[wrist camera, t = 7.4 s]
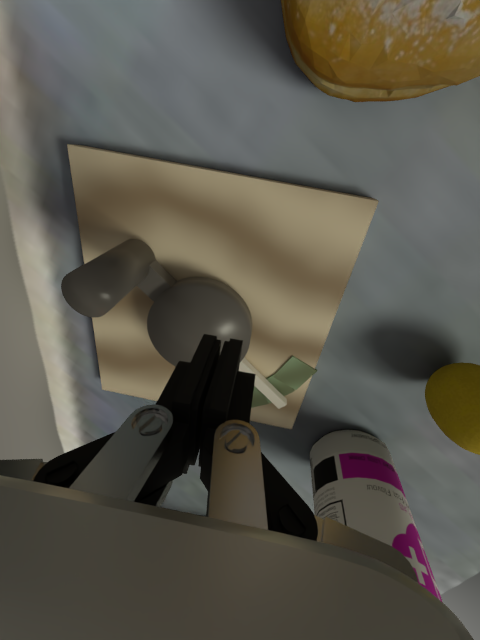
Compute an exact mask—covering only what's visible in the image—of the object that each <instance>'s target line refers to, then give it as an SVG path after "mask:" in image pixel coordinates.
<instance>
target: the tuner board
mask: <svg viewBox="0 0 480 640" xmlns="http://www.w3.org/2000/svg"><path fill="white" fill-rule="evenodd" d="M67 147H68V154H69V161H70V168H71V175H72V182H73V189H74V196H75V203H76V209H77V216H78V223H79V230H80V237H81V244H82V251H83V258H84V264H86V263H87V262H89V261H91V260H93V259H94V258H96V257H98V256H100V255H102V254H103V253H105V252H107V251H109V250H110V249H112V248H114V247H116V246H117V245H119V244H121V243H123V242H124V241H126V240H129V239H138V240H141V241H143V242H145V243H146V244H147V245H148V246H149V247H150V248H151V249H152V251H153V252H154V255H155V259H156V260H157V261H158V262H159V263H160V264H161V265H162V266H163V267H164V268H165V269H166V270H167V271H168V272H169V273H170V274H171V275H172V276H173V277H174V278H175V279H176V280H177V281H178V280H180V279H183V278H187V277H196V276H197V277H207V278H212V279H215V280H218V281H220V282H223V283H225V284H226V285H228V286H230V287H231V288H232V289H234V290H235V291H236V292H237V293H238V294H239V295H240V296H241V297H242V298H243V300H244V301H245V302H246V304H247V306H248V308H249V310H250V313H251V316H252V333H251V339H250V345H249V349H248V352H247V354H246V355H245V357H244V358H245V359H246V360H247V361H248V362H249V363H250V364H251V365H252V366H254V367H255V368H256V369H257V370H258V371H259V372H260V373H261V374H262V375H263V376H264V377H265V378H266V379H267V380H268V381H269V382H270V383H271V384H272V385H273V386H274V387H275V388H276V389H277V390H278V391H279V392H280V393H281V394H282V395H283V396H284V397H285V398H286V399H287V405H286V406H284V407H282V408H280V409H278V408H277V407H276V406H275V405H274V404H273V403H272V402H271V401H270V400H269V399H268V398H267V397H266V396H265V395H264V394H263V393H262V392H260V391H259V390H258V389H257V388H256V387H255V386H254V391H253V399H252V407H251V415H250V421H254V422H259V423H263V424H268V425H273V426H278V427H282V428H287V429H292V427H293V424H294V422H295V419H296V417H297V414H298V411H299V409H300V406H301V403H302V401H303V398H304V396H305V393H306V390H307V388H308V385H309V382H310V380H311V377H312V375H313V374H314V373H316V372H317V370H316V369H315V367H316V364H317V361H318V359H319V356H320V354H321V351H322V348H323V346H324V343H325V340H326V338H327V335H328V333H329V330H330V327H331V325H332V322H333V319H334V317H335V314H336V312H337V309H338V306H339V304H340V301H341V298H342V296H343V293H344V291H345V288H346V285H347V283H348V280H349V278H350V275H351V272H352V270H353V267H354V264H355V262H356V259H357V257H358V254H359V251H360V249H361V246H362V243H363V241H364V238H365V236H366V233H367V230H368V228H369V225H370V222H371V220H372V217H373V215H374V212H375V209H376V207H377V204H378V200H376V199H374V198H369V197H363V196H358V195H352V194H347V193H341V192H336V191H330V190H325V189H319V188H314V187H308V186H303V185H297V184H292V183H286V182H281V181H275V180H270V179H264V178H259V177H253V176H248V175H242V174H237V173H231V172H226V171H220V170H215V169H209V168H204V167H198V166H193V165H187V164H182V163H176V162H171V161H165V160H160V159H154V158H149V157H143V156H138V155H132V154H127V153H121V152H116V151H110V150H105V149H99V148H94V147H88V146H83V145H70V144H67ZM153 303H154V301H152V300H151V299H150V298H149V297H148V296H147V295H146V294H145V293H144V292H143V291H142V290H141V289H140V288H139V287H138V286H136V287H135V288H134V289H132V290H131V291H130V292H129V293H128V294H127V295H126V296H125V297H124V298H123V299H122V300H120V301H119V302H118V303H117V304H116V305H115V306H114V307H113V308H112V309H111V310H110V311H109V312H107V313H106V314H105V315H103V316H101V317H92V321H93V328H94V335H95V342H96V349H97V356H98V363H99V370H100V377H101V384H102V390H107V391H112V392H117V393H121V394H126V395H131V396H136V397H140V398H145V399H150V400H154V401H158V399H159V397H160V395H161V393H162V392H163V390H164V388H165V386H166V384H167V382H168V380H169V378H170V377H171V375H172V373H173V371H174V369H175V366H174V365H172V364H170V363H169V362H168V361H167V360H165V359H164V358H163V357H162V356H161V355H160V354H159V353H158V351H157V350H156V349H155V347H154V346H153V344H152V342H151V340H150V337H149V334H148V330H147V317H148V313H149V310H150V308H151V306H152V305H153Z"/></svg>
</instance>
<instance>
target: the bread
mask: <svg viewBox="0 0 480 640" xmlns="http://www.w3.org/2000/svg"><path fill="white" fill-rule="evenodd" d="M281 5H282V12H283V20H284V27H285V34H286V39H287V42H288V45H289V48H290V51H291V54H292V57H293V59H294V61H295V63H296V65H297V66H298V67H299V68H300V69H301V70H302V72H303V73H304V74H305V75H306V76H307V77H308V79H309V80H310V81H311V82H312V83H313V84H314V85H315V86H316V87H317V88H318V89H320V90H321V91H323V92H324V93H326V94H327V95H329V96H333V97H337V98H341V99H347V100H350V101H353V102H366V101H395V100H403V99H409V98H415V97H419V96H422V95H425V94H428V93H430V92H433V91H436V90H439V89H442V88H445V87H448V86H451V85H458V84H461V83H463V82H466V81H468V80H471V79H473V78H476V77H478V76H480V0H281Z"/></svg>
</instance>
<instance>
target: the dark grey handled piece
mask: <svg viewBox="0 0 480 640" xmlns="http://www.w3.org/2000/svg"><path fill="white" fill-rule="evenodd" d="M136 286H138V287H139V288H140V289H141V290H142V291H143V292H144V293H145V294H146V295H147V296H148V297H149V298H150V299H151V300H152V301H154V303H153V305H152V306H151V308H150V310H149V313H148V317H147V330H148V334H149V337H150V340H151V342H152V344H153V346H154V347H155V349H156V350H157V351H158V353H159V354H160V355H161V356H162V357H163V358H164V359H165V360H167V361H168V362H169V363H170V364H172V365H174V366H175V367H176V365H177V364H178V362H179V361H185V362H191V360H192V358H193V356H194V354H195V352H196V349H197V347H198V345H199V343H200V341H201V339H202V337H203V335H204V334H208V335H214V336H217V340H221V349H220V354H221V351H222V348H223V345H224V342H225V341H230V338H231V339H237V340H243V345H242V352H241V358H240V365H239V371H241V372H247V373H253V374H256V375H255V383H254V386H255V387H256V388H257V389H258V390H259V391H260V392H262V393H263V394H264V395H265V396H266V397H267V398H268V399H269V400H270V401H271V402H272V403H273V404H274V405H275V406H276V407H277V408H278V409H280V408H282V407H284V406H286V405H287V399H286V398H285V397H284V396H283V395H282V394H281V393H280V392H279V391H278V390H277V389H276V388H275V387H274V386H273V385H272V384H271V383H270V382H269V381H268V380H267V379H266V378H265V377H264V376H263V375H262V374H261V373H260V372H259V371H258V370H257V369H256V368H255V367H254V366H252V365H251V364H250V363H249V362H248V361H247V360H246V359H245V358H244V357H245V355H246V354H247V352H248V349H249V345H250V339H251V333H252V316H251V313H250V310H249V308H248V306H247V304H246V302H245V301H244V300H243V298H242V297H241V296H240V295H239V294H238V293H237V292H236V291H235V290H234V289H232V288H231V287H230V286H228V285H226V284H225V283H223V282H220V281H218V280H215V279H212V278H207V277H197V276H196V277H187V278H183V279H180V280H178V281H177V280H176V279H175V278H174V277H173V276H172V275H171V274H170V273H169V272H168V271H167V270H166V269H165V268H164V267H163V266H162V265H161V264H160V263H159V262H158V261H157V260H156V259H155V255H154V252H153V251H152V249H151V248H150V247H149V246H148V245H147V244H146V243H145V242H143V241H141V240H138V239H129V240H126V241H124V242H123V243H121V244H119V245H117V246H116V247H114V248H112V249H110V250H109V251H107V252H105V253H103V254H102V255H100V256H98V257H96V258H94V259H93V260H91V261H89V262H87V263H86V264H84V265H82V266H80V267H79V268H77V269H75V270H73V271H72V272H70V273H68V274H67V275H66V276H65V277H64V278H63V280H62V284H61V289H62V293H63V296H64V298H65V300H66V301H67V303H68V304H69V305H70V306H71V307H72V308H73V309H74V310H75V311H77V312H78V313H80V314H82V315H85V316H88V317H101V316H103V315H105V314H106V313H107V312H109V311H110V310H111V309H112V308H113V307H114V306H115V305H116V304H117V303H118V302H119V301H120V300H122V299H123V298H124V297H125V296H126V295H127V294H128V293H129V292H130V291H131V290H132V289H134V288H135V287H136Z"/></svg>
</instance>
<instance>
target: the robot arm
mask: <svg viewBox="0 0 480 640" xmlns="http://www.w3.org/2000/svg"><path fill="white" fill-rule="evenodd" d="M242 345H243V340H237V339H231V338H230V341H225V342H224V345H223V348H222V351H221V354H220V349H221V340H217V336H214V335H208V334H204V335H203V337H202V339H201V341H200V343H199V345H198V347H197V349H196V352H195V354H194V356H193V358H192V360H191V362H185V361H179V362H178V364H177V365H176V367H175V369H174V371H173V373H172V375H171V377H170V378H169V380H168V382H167V384H166V386H165V388H164V390H163V392H162V393H161V395H160V397H159V399H158V401H157V403H156V405H146V406H142V407H140V408H138V409H136V410H135V411H134V412H133V413H132V414H130V416H129V417H128V418H127V419H126V420H125V422H124V423H123V424H122V425H121V426H120V428H119V429H118V430H117V431H116V432H114V433H112V434H109V435H107V436H105V437H102V438H100V439H97V440H95V441H93V442H90V443H88V444H86V445H83V446H81V447H79V448H76V449H74V450H72V451H69V452H67V453H64V454H62V455H60V456H58V457H56V458H54V459H52V460H50V461H49V462H43V460H42V459H23V460H22V459H20V460H0V640H474V639H473V638H472V636H471V635H470V633H469V632H468V631H467V629H466V628H465V626H464V625H463V624H462V622H461V621H460V620H459V619H458V618H457V616H456V615H455V614H454V613H453V612H452V611H451V610H450V609H449V608H448V607H447V606H446V605H445V604H444V603H443V602H441V601H440V600H439V599H438V598H437V597H435V596H434V595H433V594H432V593H431V592H429V591H428V590H427V589H426V588H424V587H423V586H421V585H420V584H419V583H418V579H417V576H416V573H415V571H414V569H413V567H412V566H411V564H410V562H409V561H408V560H407V559H406V558H405V556H404V555H403V554H402V553H401V552H400V551H398V550H396V549H395V548H393V547H392V546H390V545H388V544H386V543H383V542H381V541H379V540H377V539H375V538H372V537H370V536H368V535H366V534H364V533H361V532H359V531H357V530H355V529H352V528H350V527H348V526H346V525H344V524H341V523H339V522H337V521H335V520H333V519H330V518H328V517H326V516H325V518H324V519H322V518H320V517H318V516H315V515H314V514H313V512H312V511H311V509H310V508H309V506H308V505H307V504H306V503H305V502H304V501H303V500H302V498H301V497H300V496H299V495H298V494H297V493H296V492H295V490H294V489H293V488H292V487H291V486H290V485H289V483H288V482H287V481H286V480H285V479H284V478H283V477H282V475H281V474H280V473H279V472H278V471H277V470H276V469H275V467H274V466H273V465H272V464H271V463H270V462H269V461H268V459H267V458H266V457H265V456H264V455H263V454H262V453H261V449H260V439H259V435H258V433H257V431H256V430H255V428H254V427H253V426H251V425H250V424H249V423H250V415H251V407H252V399H253V391H254V383H255V375H256V374H253V373H247V372H241V371H239V365H240V358H241V352H242ZM199 449H200V454H199V467H201V473H200V479H201V481H202V482H203V484H204V485H205V487H206V489H207V490H208V499H207V512H206V517H204V516H200V515H195V514H190V513H185V512H180V511H176V510H171V509H166V508H161V506H162V504H163V502H164V500H165V498H166V496H167V494H168V492H169V490H170V488H171V485H172V482H173V480H174V479H176V478H177V477H179V476H181V475H182V473H184V474H187V471H188V467H189V465H195V462H196V459H197V456H198V452H199Z"/></svg>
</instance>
